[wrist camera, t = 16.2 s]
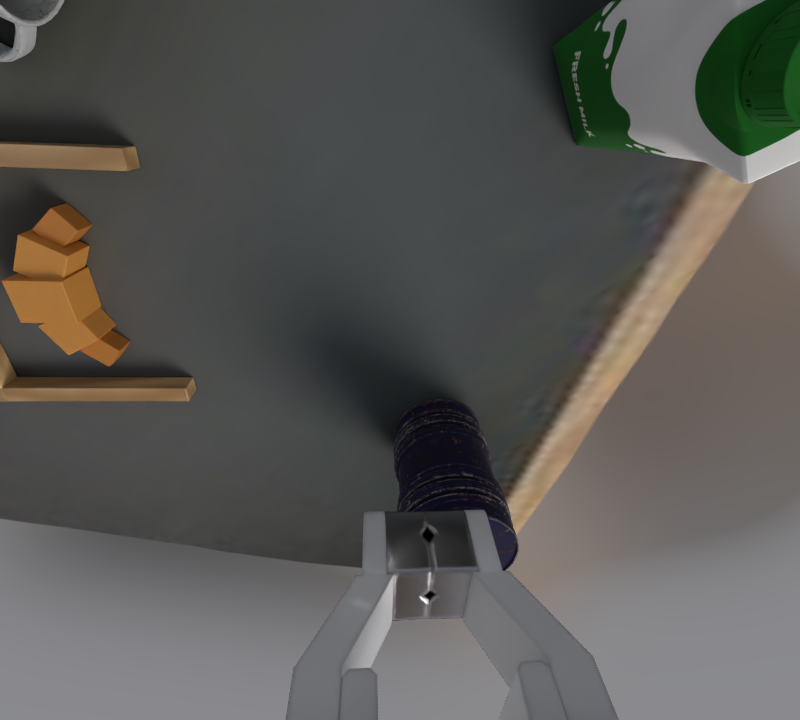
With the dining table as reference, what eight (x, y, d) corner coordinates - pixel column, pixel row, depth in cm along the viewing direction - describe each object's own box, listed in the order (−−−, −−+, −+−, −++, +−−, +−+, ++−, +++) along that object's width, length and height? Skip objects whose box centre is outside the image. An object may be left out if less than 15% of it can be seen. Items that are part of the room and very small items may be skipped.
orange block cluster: (6, 201, 33) (-32, 210, 30) (85, 203, 33) (55, 213, 30) (71, 355, 40) (45, 376, 37) (135, 356, 40) (115, 376, 37)
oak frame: (-126, 136, 30) (-157, 137, 28) (135, 145, 31) (121, 147, 29) (8, 389, 41) (-8, 401, 39) (196, 389, 42) (189, 401, 41)
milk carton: (535, 39, 29) (767, -65, 12) (666, -37, 28) (1154, -283, 10) (567, 162, 33) (773, 216, 16) (683, 103, 32) (1049, 94, 15)
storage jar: (382, 457, 48) (384, 582, 36) (407, 389, 44) (421, 505, 31) (461, 472, 50) (491, 595, 37) (494, 409, 46) (541, 525, 33)
